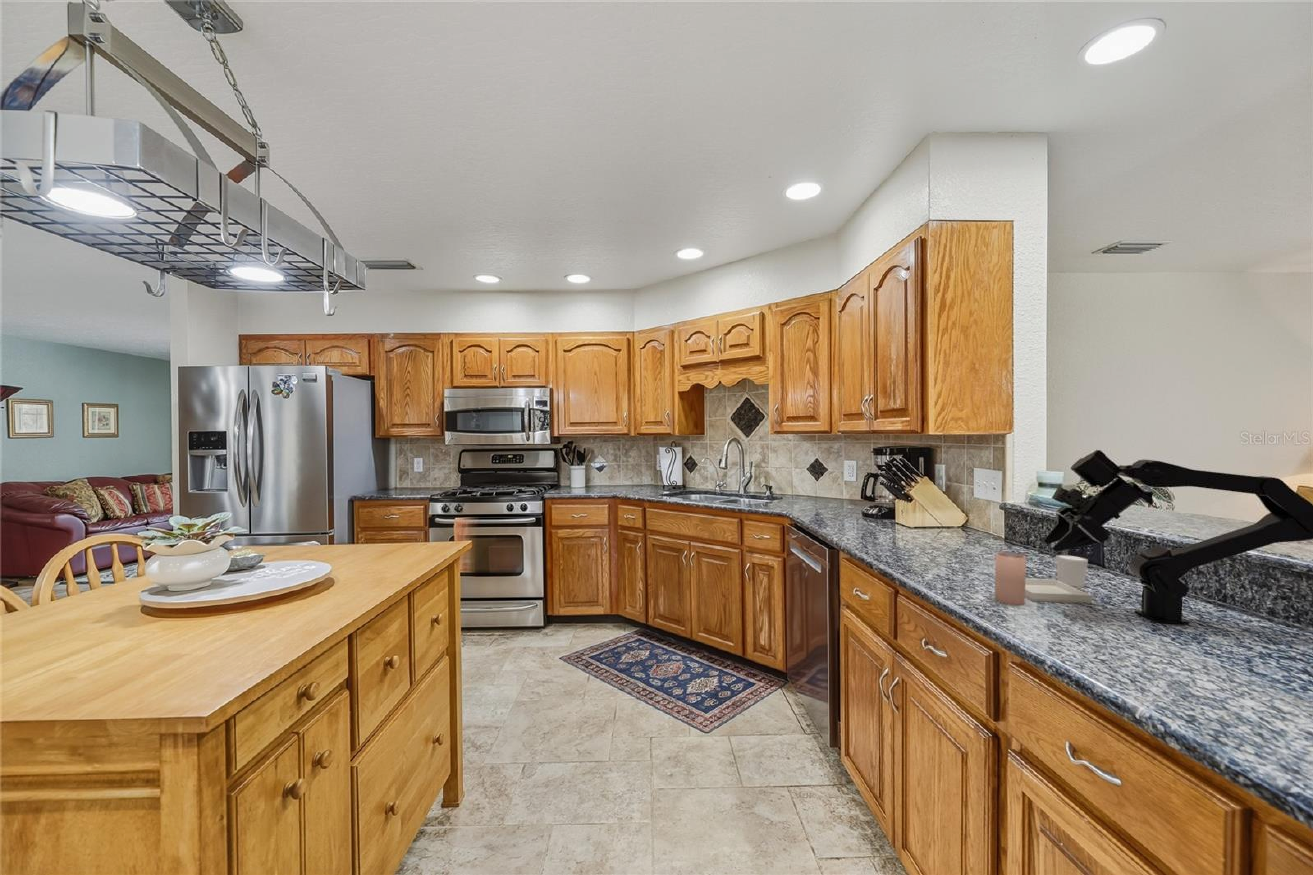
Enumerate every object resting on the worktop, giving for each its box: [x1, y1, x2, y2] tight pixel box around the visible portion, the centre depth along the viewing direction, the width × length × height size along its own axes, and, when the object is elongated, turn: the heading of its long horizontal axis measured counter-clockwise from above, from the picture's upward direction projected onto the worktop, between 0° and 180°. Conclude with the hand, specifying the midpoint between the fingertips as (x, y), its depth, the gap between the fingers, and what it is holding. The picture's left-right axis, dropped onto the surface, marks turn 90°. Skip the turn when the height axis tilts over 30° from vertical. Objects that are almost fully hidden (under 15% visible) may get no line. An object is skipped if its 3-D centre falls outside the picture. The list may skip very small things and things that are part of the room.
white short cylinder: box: [1055, 554, 1089, 588], centre depth 142 cm, size 7×7×7 cm
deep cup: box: [994, 551, 1027, 606], centre depth 127 cm, size 6×6×11 cm
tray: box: [1025, 578, 1093, 605], centre depth 132 cm, size 13×13×2 cm
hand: (1049, 546), depth 125 cm, fingers open, 9 cm apart
